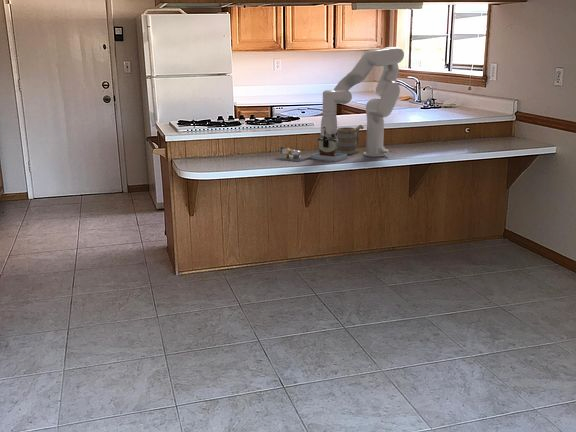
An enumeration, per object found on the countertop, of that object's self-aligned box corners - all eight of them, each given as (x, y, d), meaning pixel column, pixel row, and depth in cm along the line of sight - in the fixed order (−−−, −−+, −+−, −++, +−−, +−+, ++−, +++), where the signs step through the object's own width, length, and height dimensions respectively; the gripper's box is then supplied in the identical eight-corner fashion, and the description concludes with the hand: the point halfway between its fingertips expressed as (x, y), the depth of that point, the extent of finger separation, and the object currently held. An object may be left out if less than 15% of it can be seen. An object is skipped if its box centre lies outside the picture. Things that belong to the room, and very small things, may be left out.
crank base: (311, 158, 335) (311, 147, 334) (299, 161, 326) (298, 150, 325) (293, 156, 343) (293, 145, 341) (280, 159, 334) (280, 148, 332)
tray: (347, 158, 334) (347, 154, 333) (335, 161, 325) (335, 157, 325) (322, 155, 344) (322, 151, 343) (310, 158, 335) (310, 154, 334)
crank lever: (301, 156, 335) (301, 148, 333) (298, 157, 331) (298, 149, 330) (282, 154, 341) (282, 146, 340) (278, 155, 338) (278, 147, 337)
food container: (342, 155, 334) (342, 137, 331) (337, 157, 328) (337, 138, 326) (322, 153, 340) (322, 136, 337) (317, 155, 335) (316, 137, 332)
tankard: (345, 155, 345) (345, 128, 341) (331, 152, 355) (331, 126, 351) (370, 151, 356) (371, 125, 352) (356, 148, 366) (356, 123, 362)
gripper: (332, 111, 336) (332, 143, 341) (314, 114, 323) (314, 148, 328) (344, 112, 332) (343, 144, 337) (326, 115, 319) (326, 149, 324)
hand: (329, 146), depth 333 cm, fingers closed on food container, 6 cm apart
